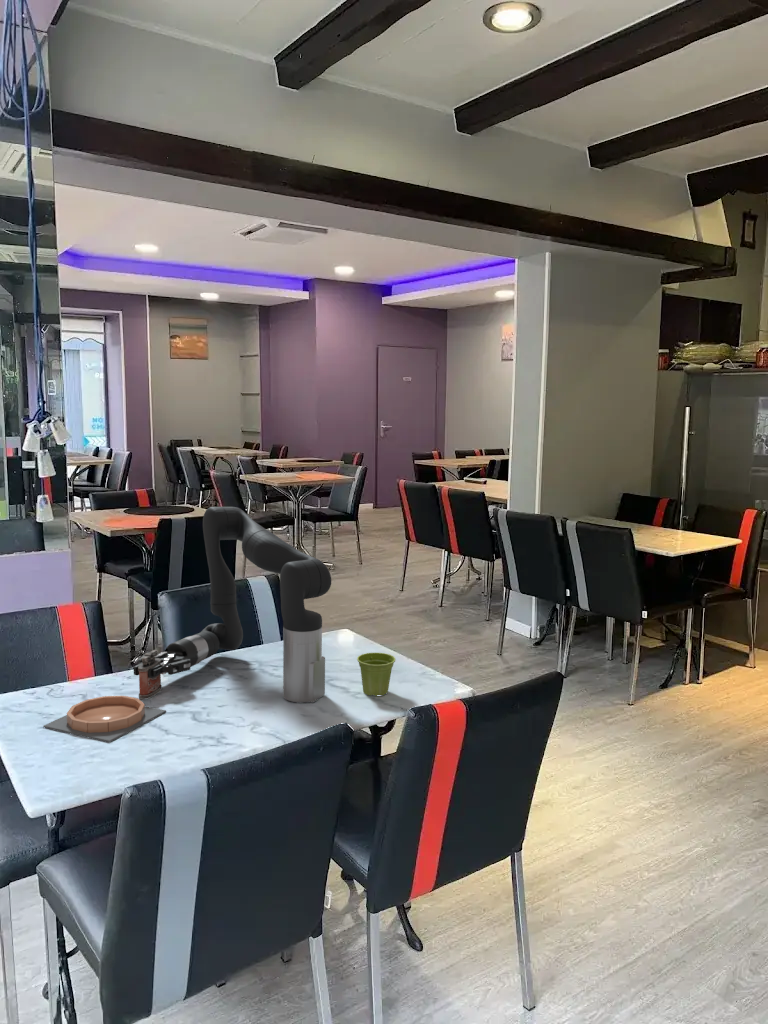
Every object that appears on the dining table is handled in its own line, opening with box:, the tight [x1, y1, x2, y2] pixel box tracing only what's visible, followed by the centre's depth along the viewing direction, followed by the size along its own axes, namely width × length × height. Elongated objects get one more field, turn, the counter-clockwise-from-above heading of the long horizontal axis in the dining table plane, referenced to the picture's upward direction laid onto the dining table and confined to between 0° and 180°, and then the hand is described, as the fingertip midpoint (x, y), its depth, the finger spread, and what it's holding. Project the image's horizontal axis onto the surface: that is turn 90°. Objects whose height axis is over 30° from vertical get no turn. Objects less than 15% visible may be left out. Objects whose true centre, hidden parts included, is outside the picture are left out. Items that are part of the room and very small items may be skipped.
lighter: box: [138, 649, 163, 700], centre depth 184 cm, size 8×3×10 cm, turn 168°
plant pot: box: [356, 652, 397, 697], centre depth 188 cm, size 9×9×9 cm
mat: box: [43, 705, 167, 743], centre depth 169 cm, size 18×18×1 cm
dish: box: [66, 695, 146, 733], centre depth 169 cm, size 16×16×2 cm
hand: (142, 672), depth 182 cm, fingers closed on lighter, 3 cm apart
